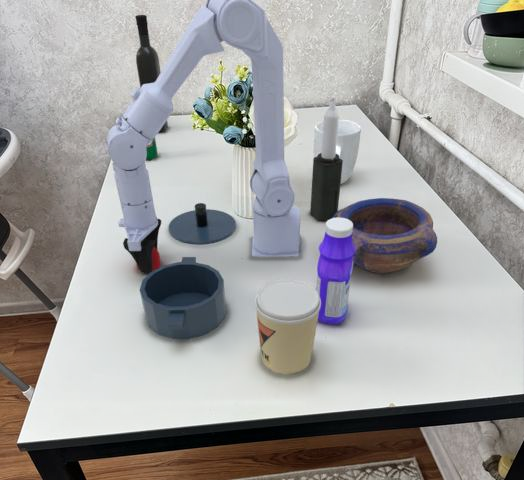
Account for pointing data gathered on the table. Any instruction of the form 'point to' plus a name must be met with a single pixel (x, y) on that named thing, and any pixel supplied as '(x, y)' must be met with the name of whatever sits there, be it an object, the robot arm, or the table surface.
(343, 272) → the bottle
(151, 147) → the soda can
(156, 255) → the strawberry
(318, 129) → the mug
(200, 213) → the lid
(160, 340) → the table surface
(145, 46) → the wine bottle
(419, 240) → the bowl
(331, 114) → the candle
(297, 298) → the coffee cup
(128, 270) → the table surface
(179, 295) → the pot
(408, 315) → the table surface
